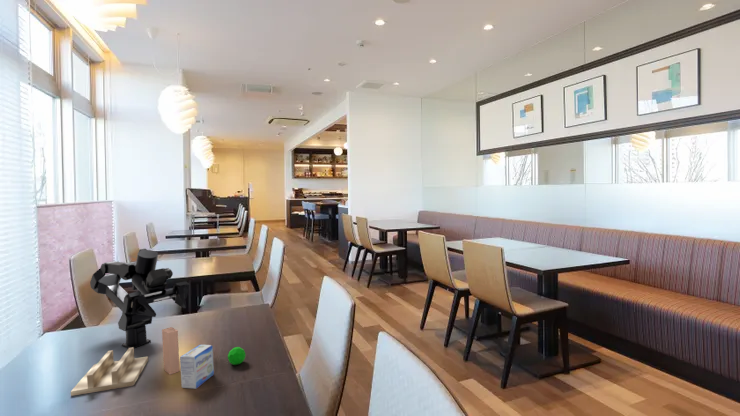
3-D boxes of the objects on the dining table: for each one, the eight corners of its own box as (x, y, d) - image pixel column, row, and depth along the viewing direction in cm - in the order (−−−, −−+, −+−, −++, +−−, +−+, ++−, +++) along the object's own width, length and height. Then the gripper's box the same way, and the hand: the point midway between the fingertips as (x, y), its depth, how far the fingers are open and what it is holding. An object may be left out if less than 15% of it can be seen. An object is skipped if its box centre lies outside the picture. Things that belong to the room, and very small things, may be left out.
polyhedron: (249, 361, 112) (248, 345, 112) (238, 368, 107) (238, 352, 107) (235, 359, 113) (234, 344, 113) (224, 366, 109) (223, 350, 109)
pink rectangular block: (164, 369, 107) (162, 329, 107) (173, 366, 109) (171, 327, 109) (170, 374, 104) (168, 333, 104) (179, 371, 106) (177, 330, 106)
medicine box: (195, 389, 96) (194, 357, 96) (180, 388, 97) (179, 356, 97) (214, 374, 104) (213, 344, 103) (200, 373, 105) (199, 343, 104)
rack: (94, 368, 110) (93, 352, 109) (148, 360, 114) (147, 345, 114) (70, 396, 94) (69, 378, 94) (133, 385, 99) (132, 368, 99)
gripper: (118, 269, 110) (142, 296, 103) (179, 258, 126) (204, 282, 118) (113, 300, 113) (136, 329, 106) (174, 286, 129) (197, 310, 121)
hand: (171, 311), depth 113 cm, fingers open, 9 cm apart
